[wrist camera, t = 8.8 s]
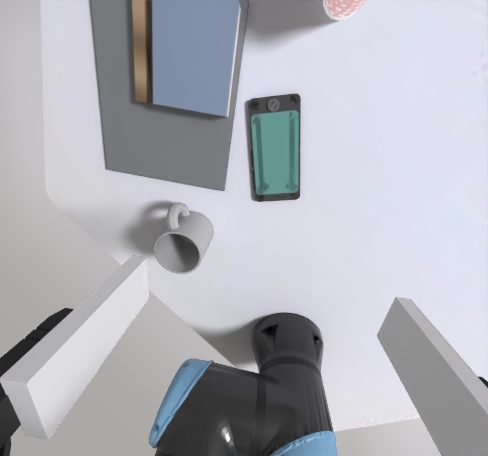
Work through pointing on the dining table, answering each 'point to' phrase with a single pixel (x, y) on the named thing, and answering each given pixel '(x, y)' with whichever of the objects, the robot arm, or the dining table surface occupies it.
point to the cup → (183, 240)
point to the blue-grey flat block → (194, 53)
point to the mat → (156, 110)
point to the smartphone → (275, 147)
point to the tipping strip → (142, 49)
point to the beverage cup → (341, 8)
